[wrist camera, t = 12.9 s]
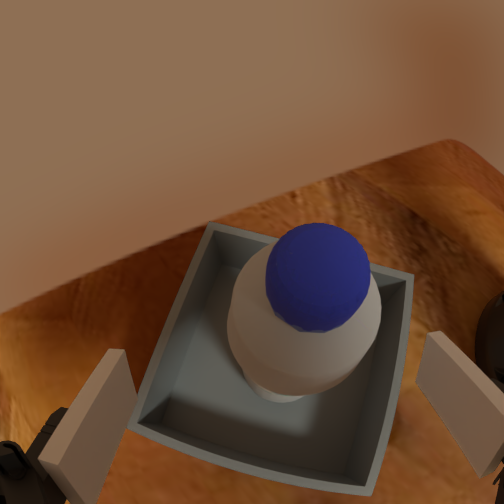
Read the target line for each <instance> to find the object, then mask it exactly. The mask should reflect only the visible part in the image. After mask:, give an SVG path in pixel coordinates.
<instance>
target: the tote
mask: <svg viewBox="0 0 504 504" xmlns="http://www.w3.org/2000/svg"><path fill="white" fill-rule="evenodd" d="M278 240H279V239H278V238H274V237H270V236H266V235H263V234H259V233H255V232H251V231H247V230H243V229H239V228H235V227H231V226H227V225H223V224H219V223H214V222H210V221H209V223H208V225H207V227H206V230H205V232H204V234H203V236H202V238H201V241H200V243H199V245H198V247H197V250H196V252H195V254H194V256H193V259H192V261H191V263H190V266H189V268H188V270H187V272H186V275H185V277H184V279H183V282H182V284H181V286H180V289H179V291H178V293H177V296H176V298H175V301H174V303H173V305H172V308H171V310H170V313H169V315H168V317H167V320H166V322H165V325H164V327H163V330H162V332H161V335H160V337H159V340H158V342H157V345H156V347H155V350H154V352H153V355H152V357H151V360H150V362H149V365H148V367H147V370H146V373H145V375H144V378H143V381H142V383H141V386H140V388H139V391H138V394H137V397H138V400H137V403H136V405H135V407H134V410H133V412H132V415H131V417H130V419H129V422H128V424H127V426H126V428H127V429H129V430H131V431H134V432H136V433H138V434H140V435H142V436H144V437H147V438H149V439H151V440H153V441H156V442H158V443H160V444H163V445H165V446H168V447H170V448H172V449H175V450H177V451H180V452H183V453H185V454H188V455H191V456H193V457H196V458H199V459H202V460H204V461H207V462H210V463H213V464H216V465H219V466H223V467H226V468H229V469H232V470H236V471H239V472H242V473H246V474H250V475H253V476H257V477H261V478H265V479H269V480H273V481H277V482H282V483H286V484H291V485H296V486H301V487H306V488H312V489H317V490H323V491H330V492H337V493H345V494H353V495H363V496H371V495H372V493H373V490H374V487H375V484H376V480H377V477H378V474H379V471H380V468H381V464H382V461H383V458H384V454H385V450H386V447H387V443H388V439H389V435H390V431H391V427H392V423H393V419H394V415H395V410H396V406H397V401H398V396H399V391H400V386H401V380H402V375H403V369H404V363H405V357H406V350H407V343H408V336H409V328H410V319H411V310H412V299H413V286H414V275H413V274H410V273H406V272H403V271H399V270H395V269H392V268H388V267H384V266H381V265H377V264H373V263H370V270H371V274H372V276H373V278H374V280H375V282H376V284H377V287H378V291H379V294H380V300H381V321H380V325H379V329H378V332H377V335H376V337H375V340H374V341H373V343H372V345H371V346H370V348H369V349H368V351H367V352H366V354H365V355H364V356H363V357H362V359H361V361H360V362H359V364H358V365H357V367H356V368H355V369H354V371H353V372H352V373H351V374H350V375H349V376H348V377H347V378H346V379H345V380H343V381H342V382H341V383H339V384H338V385H336V386H334V387H333V388H331V389H328V390H326V391H323V392H320V393H316V394H312V395H305V396H303V397H302V398H300V399H298V400H295V401H292V402H285V403H279V402H272V401H268V400H265V399H263V398H261V397H260V396H259V395H257V394H256V393H255V392H254V391H253V390H252V389H251V388H250V386H249V385H248V383H247V382H246V380H245V377H244V374H243V369H242V368H241V366H240V365H239V364H238V362H237V360H236V359H235V357H234V355H233V352H232V350H231V347H230V344H229V340H228V334H227V320H228V313H229V309H230V306H231V299H232V294H233V288H234V285H235V282H236V279H237V277H238V275H239V273H240V272H241V270H242V268H243V267H244V265H245V264H246V263H247V262H248V261H249V259H250V258H251V257H252V256H253V255H255V254H256V253H257V252H258V251H260V250H261V249H262V248H264V247H265V246H267V245H269V244H271V243H273V242H275V241H278Z"/></svg>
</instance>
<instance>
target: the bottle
mask: <svg viewBox="0 0 504 504" xmlns="http://www.w3.org/2000/svg"><path fill="white" fill-rule="evenodd" d="M380 321H381V300H380V294H379V291H378V287H377V284H376V282H375V280H374V278H373V276H372V274H371V270H370V262H369V260H368V257H367V254H366V252H365V251H364V249H363V247H362V245H361V244H359V242H358V241H357V240H356V238H354V237H353V236H352V235H351V234H349V233H348V232H346V231H344V230H343V229H341V228H339V227H336V226H333V225H329V224H324V223H311V224H304V225H301V226H298V227H295V228H294V229H292V230H290V231H288V232H287V233H286V234H285V235H284V236H282V237H281V238H280V239H279V240H278V241H275V242H273V243H271V244H269V245H267V246H265V247H264V248H262V249H261V250H260V251H258V252H257V253H256V254H255V255H253V256H252V257H251V258H250V259H249V261H248V262H247V263H246V264H245V265H244V267H243V268H242V270H241V272H240V273H239V275H238V277H237V279H236V282H235V285H234V288H233V294H232V299H231V306H230V309H229V313H228V320H227V334H228V340H229V344H230V347H231V350H232V352H233V355H234V357H235V359H236V360H237V362H238V364H239V365H240V366H241V368H242V369H243V374H244V377H245V380H246V382H247V383H248V385H249V386H250V388H251V389H252V390H253V391H254V392H255V393H256V394H257V395H259V396H260V397H261V398H263V399H265V400H268V401H272V402H279V403H285V402H292V401H295V400H298V399H300V398H302V397H303V396H305V395H312V394H316V393H320V392H323V391H326V390H328V389H331V388H333V387H334V386H336V385H338V384H339V383H341V382H342V381H343V380H345V379H346V378H347V377H348V376H349V375H350V374H351V373H352V372H353V371H354V369H355V368H356V367H357V365H358V364H359V362H360V361H361V359H362V357H363V356H364V355H365V354H366V352H367V351H368V349H369V348H370V346H371V345H372V343H373V341H374V340H375V337H376V335H377V332H378V329H379V325H380Z"/></svg>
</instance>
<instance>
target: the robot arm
mask: <svg viewBox="0 0 504 504" xmlns="http://www.w3.org/2000/svg"><path fill="white" fill-rule="evenodd" d="M475 350H476V362H477V366H476V365H475V364H474V363H473V362H472V361H471V360H470V359H469V358H468V357H467V356H466V355H465V354H464V353H463V352H462V351H461V350H460V349H459V348H458V347H457V346H456V345H455V344H454V343H453V342H452V341H451V340H450V339H449V338H448V337H447V336H446V335H445V334H444V333H443V332H442V331H436V332H430V333H427V337H426V341H425V346H424V350H423V354H422V359H421V363H420V367H419V370H418V374H417V378H416V383H417V385H418V386H419V388H420V389H421V391H422V392H423V393H424V395H425V396H426V398H427V399H428V401H429V402H430V404H431V405H432V406H433V408H434V409H435V411H436V412H437V414H438V415H439V417H440V418H441V420H442V421H443V423H444V424H445V426H446V427H447V429H448V430H449V432H450V433H451V435H452V436H453V438H454V439H455V441H456V442H457V444H458V445H459V447H460V448H461V450H462V452H463V453H464V455H465V456H466V458H467V459H468V461H469V463H470V464H471V466H472V467H473V469H474V471H475V472H476V474H477V475H478V477H479V479H480V478H482V477H484V476H486V475H488V474H490V473H492V472H494V471H495V469H496V468H497V467H498V465H499V464H500V462H501V461H502V462H503V464H504V291H503V292H501V293H500V294H499V295H497V296H496V297H494V298H493V299H492V300H491V301H490V302H489V303H488V304H487V306H486V307H485V309H484V311H483V313H482V315H481V317H480V320H479V323H478V328H477V333H476V345H475ZM137 400H138V397H137V393H136V390H135V386H134V383H133V379H132V376H131V372H130V368H129V364H128V360H127V357H126V352H125V350H124V349H108V351H107V352H106V354H105V355H104V356H103V358H102V359H101V361H100V362H99V364H98V365H97V367H96V368H95V370H94V371H93V373H92V374H91V376H90V377H89V378H88V380H87V381H86V383H85V384H84V386H83V387H82V389H81V390H80V392H79V394H78V395H77V397H76V398H75V400H74V401H73V403H72V404H71V406H70V407H69V408H63V407H60V408H59V409H58V410H56V411H55V412H54V413H52V414H51V416H50V417H49V418H48V420H47V421H46V423H45V425H44V426H43V427H42V429H41V430H40V431H41V432H39V433H38V435H37V436H36V438H35V440H34V441H33V443H32V444H31V446H30V447H29V449H28V450H27V452H26V454H25V453H24V452H23V450H22V449H21V447H20V446H19V445H18V444H17V443H16V442H13V441H2V442H0V504H65V501H66V499H67V500H68V501H69V502H70V503H71V504H96V503H97V500H98V497H99V495H100V492H101V489H102V487H103V484H104V481H105V479H106V476H107V474H108V471H109V469H110V466H111V464H112V461H113V459H114V456H115V453H116V451H117V449H118V446H119V444H120V441H121V439H122V436H123V434H124V431H125V429H126V426H127V424H128V422H129V419H130V417H131V415H132V412H133V410H134V407H135V405H136V403H137ZM499 479H500V482H499V484H498V485H499V487H498V492H497V496H496V501H495V504H504V467H503V469H502V470H501V472H500V473H499V474H498V476H497V477H496V479H495V480H494V482H493V485H495V484H496V482H497V481H498V480H499Z"/></svg>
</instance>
